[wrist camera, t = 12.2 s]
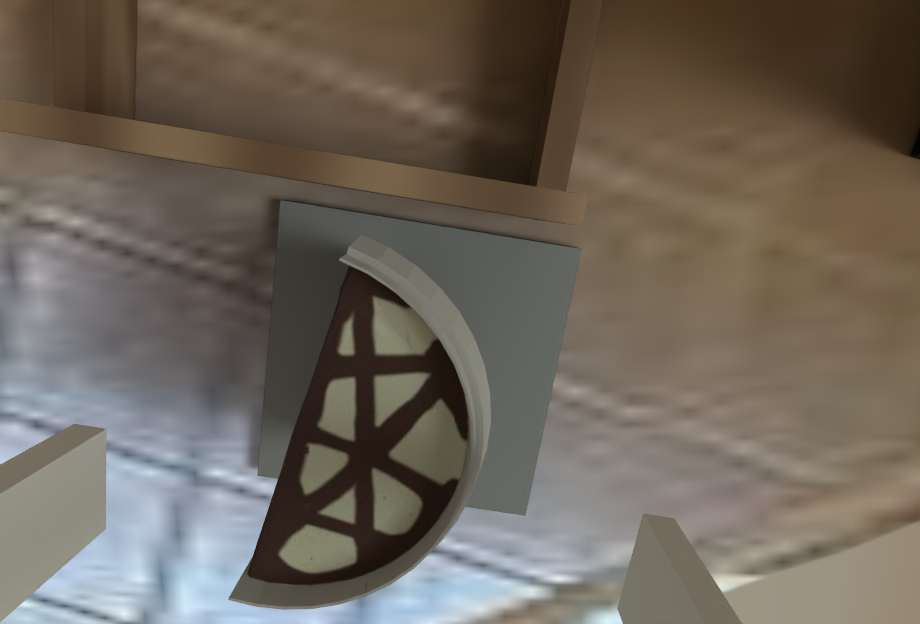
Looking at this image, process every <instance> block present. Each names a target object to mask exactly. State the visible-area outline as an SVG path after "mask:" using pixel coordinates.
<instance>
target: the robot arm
mask: <svg viewBox="0 0 920 624" xmlns="http://www.w3.org/2000/svg"><path fill="white" fill-rule="evenodd" d="M105 529H106V429H103V428H97V427H91V426H84V425H78V424H73V425H72V426H70V427H68V428H66V429H64V430H63V431H61V432H59V433H57V434H55V435H53V436H52V437H50V438H48V439H46V440H44V441H43V442H41V443H39V444H37V445H35V446H34V447H32V448H30V449H28V450H26V451H24V452H23V453H21V454H19V455H17V456H15V457H14V458H12V459H10V460H8V461H6V462H4V463H3V464H1V465H0V622H1V621H2V620H3V619H4V618H5V617H7V616H8V615H9V614H10V613H11V612H12V611H13V610H14V609H16V608H17V607H18V606H19V605H20V604H21V603H22V602H24V601H25V600H26V599H27V598H28V597H29V596H30V595H31V594H33V593H34V592H35V591H36V590H37V589H38V588H39V587H40V586H42V585H43V584H44V583H45V582H46V581H47V580H48V579H50V578H51V577H52V576H53V575H54V574H55V573H56V572H57V571H59V570H60V569H61V568H62V567H63V566H64V565H65V564H66V563H68V562H69V561H70V560H71V559H72V558H73V557H74V556H76V555H77V554H78V553H79V552H80V551H81V550H82V549H83V548H85V547H86V546H87V545H88V544H89V543H90V542H91V541H92V540H94V539H95V538H96V537H97V536H98V535H99V534H100V533H102V532H103V531H104V530H105ZM618 611H619V614H620V616H621V619H622V622H623V624H742V623H741V621H740V620H739V618H738V616H737V615H736V613H735V612H734V610H733V609H732V607H731V606H730V604H729V603H728V601H727V599H726V598H725V596H724V595H723V593H722V592H721V590H720V589H719V587H718V585H717V584H716V582H715V581H714V579H713V578H712V576H711V575H710V573H709V572H708V570H707V568H706V567H705V565H704V564H703V562H702V561H701V559H700V558H699V556H698V555H697V553H696V551H695V550H694V548H693V547H692V545H691V544H690V542H689V541H688V539H687V537H686V536H685V534H684V533H683V531H682V530H681V528H680V527H679V525H678V524H677V522H676V520H675V519H674V518H668V517H662V516H655V515H649V514H643V516H642V520H641V524H640V528H639V531H638V535H637V539H636V542H635V546H634V550H633V553H632V557H631V561H630V564H629V568H628V572H627V575H626V579H625V583H624V586H623V590H622V594H621V598H620V601H619V605H618Z"/></svg>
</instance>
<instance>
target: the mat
mask: <svg viewBox="0 0 920 624" xmlns="http://www.w3.org/2000/svg"><path fill="white" fill-rule="evenodd" d="M361 235H364V236H366V237H368V238H370V239H373V240H375V241H377V242H379V243H381V244H383V245H385V246H387V247H389V248H391V249H392V250H394V251H395V252H397V253H398V254H400V255H401V256H403V257H404V258H406V259H407V260H409V261H410V262H412V263H414V264H415V265H416V266H417V267H419V268H420V269H421V270H422V271H423V272H424V273H425V274H426V275H427V276H428V277H430V278H431V279H432V280H433V281H434V282H435V283H436V284H437V285H438V286H439V287H440V288H441V289H442V290H443V292H444V293H445V294H446V295H447V297H448V298H449V299H450V300H451V302H452V303H453V304H454V305H455V306H456V308H457V309H458V310H459V312H460V313H461V315H462V317H463V319H464V320H465V322H466V324H467V326H468V327H469V329H470V331H471V333H472V334H473V336H474V338H475V341H476V343H477V346H478V349H479V352H480V354H481V357H482V360H483V362H484V365H485V370H486V375H487V380H488V385H489V390H490V406H491V424H490V431H489V438H488V445H487V450H486V453H485V456H484V459H483V463H482V466H481V469H480V472H479V475H478V477H477V480H476V483H475V485H474V488H473V491H472V493H471V496H470V498H469V500H468V502H467V504H466V505H465V507H471V508H478V509H485V510H491V511H498V512H505V513H511V514H518V515H526V510H527V506H528V501H529V496H530V491H531V487H532V482H533V477H534V472H535V467H536V463H537V458H538V453H539V448H540V444H541V439H542V434H543V429H544V425H545V420H546V415H547V410H548V406H549V401H550V396H551V391H552V387H553V382H554V377H555V372H556V367H557V363H558V358H559V353H560V348H561V344H562V339H563V334H564V329H565V325H566V320H567V315H568V310H569V306H570V301H571V296H572V291H573V287H574V282H575V277H576V272H577V267H578V263H579V258H580V253H581V249H580V248H575V247H569V246H563V245H557V244H551V243H544V242H538V241H532V240H526V239H520V238H514V237H508V236H501V235H495V234H489V233H483V232H477V231H471V230H465V229H458V228H452V227H446V226H440V225H434V224H428V223H422V222H416V221H409V220H403V219H397V218H391V217H385V216H379V215H373V214H366V213H360V212H354V211H348V210H342V209H336V208H330V207H323V206H317V205H311V204H305V203H299V202H293V201H287V200H280V212H279V224H278V236H277V248H276V260H275V272H274V284H273V296H272V308H271V320H270V332H269V344H268V356H267V368H266V380H265V392H264V404H263V416H262V428H261V440H260V452H259V464H258V476H264V477H270V478H277V479H278V478H279V475H280V472H281V469H282V465H283V462H284V459H285V455H286V452H287V449H288V445H289V442H290V439H291V435H292V433H293V430H294V427H295V424H296V421H297V419H298V416H299V413H300V410H301V407H302V405H303V402H304V399H305V396H306V394H307V391H308V388H309V385H310V382H311V379H312V377H313V374H314V371H315V368H316V365H317V362H318V359H319V356H320V353H321V350H322V347H323V344H324V341H325V338H326V335H327V333H328V330H329V327H330V324H331V321H332V318H333V315H334V312H335V309H336V305H337V302H338V299H339V293H340V287H341V285H342V283H343V281H344V279H345V276H346V273H347V270H348V268H349V266H350V265H348V264H346V263H343V262H341V261H339V260H340V258H341V257H342V256H344V255H346V254H347V251H348V248H349V246H350V245H351V244H352V243H353V242H355V241H356V240H357V239H358V238H359V237H360V236H361Z"/></svg>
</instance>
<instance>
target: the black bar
mask: <svg viewBox="0 0 920 624" xmlns="http://www.w3.org/2000/svg"><path fill="white" fill-rule="evenodd" d="M911 156H912V157H915V158H919V159H920V134H919V136H918V138H917V141H916V143H915V146H914V148H913V151H912V153H911Z"/></svg>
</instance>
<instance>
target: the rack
mask: <svg viewBox="0 0 920 624" xmlns="http://www.w3.org/2000/svg"><path fill="white" fill-rule="evenodd" d="M603 1H604V0H562V3H561V8H560V14H559V19H558V25H557V30H556V35H555V41H554V46H553V52H552V57H551V63H550V68H549V74H548V79H547V85H546V90H545V96H544V101H543V106H542V112H541V117H540V123H539V128H538V134H537V139H536V145H535V150H534V156H533V161H532V167H531V172H530V178H529V183H528V185H523V184H517V183H510V182H504V181H498V180H492V179H486V178H480V177H474V176H468V175H462V174H456V173H450V172H444V171H438V170H432V169H426V168H420V167H414V166H408V165H402V164H396V163H390V162H384V161H378V160H372V159H366V158H360V157H353V156H347V155H341V154H335V153H329V152H323V151H317V150H311V149H305V148H299V147H293V146H287V145H281V144H275V143H269V142H263V141H257V140H251V139H245V138H239V137H233V136H227V135H221V134H215V133H209V132H202V131H196V130H190V129H184V128H178V127H172V126H166V125H160V124H154V123H148V122H142V121H136V120H135V76H136V33H137V0H53V30H54V107H51V106H45V105H39V104H33V103H27V102H21V101H15V100H9V99H3V98H0V131H4V132H10V133H16V134H22V135H28V136H34V137H39V138H45V139H51V140H57V141H63V142H69V143H75V144H81V145H87V146H93V147H98V148H104V149H110V150H116V151H123V152H129V153H135V154H141V155H147V156H153V157H159V158H165V159H171V160H177V161H184V162H190V163H196V164H202V165H208V166H214V167H220V168H226V169H232V170H238V171H245V172H251V173H257V174H263V175H269V176H275V177H281V178H287V179H293V180H299V181H306V182H312V183H318V184H324V185H330V186H336V187H342V188H348V189H354V190H360V191H366V192H373V193H379V194H385V195H391V196H397V197H403V198H409V199H415V200H421V201H427V202H434V203H440V204H446V205H452V206H458V207H464V208H470V209H476V210H482V211H488V212H495V213H501V214H507V215H513V216H519V217H525V218H531V219H537V220H543V221H550V222H557V223H564V224H571V225H578V226H582V225H583V220H584V215H585V211H586V206H587V201H588V196H589V195H583V194H577V193H571V192H566V187H567V182H568V177H569V172H570V167H571V162H572V157H573V152H574V147H575V142H576V137H577V132H578V127H579V122H580V117H581V112H582V107H583V102H584V97H585V92H586V87H587V82H588V77H589V72H590V67H591V61H592V56H593V51H594V46H595V41H596V36H597V31H598V26H599V21H600V16H601V11H602V6H603Z"/></svg>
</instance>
